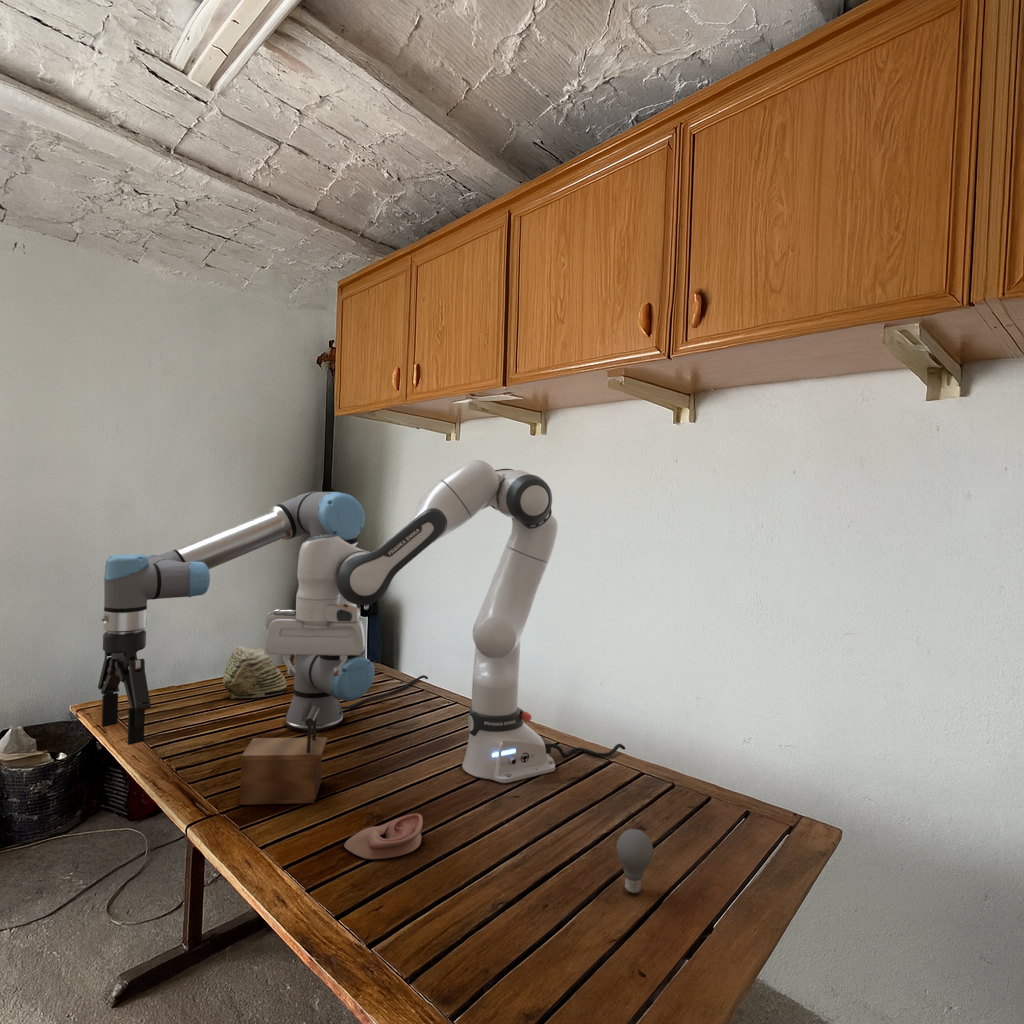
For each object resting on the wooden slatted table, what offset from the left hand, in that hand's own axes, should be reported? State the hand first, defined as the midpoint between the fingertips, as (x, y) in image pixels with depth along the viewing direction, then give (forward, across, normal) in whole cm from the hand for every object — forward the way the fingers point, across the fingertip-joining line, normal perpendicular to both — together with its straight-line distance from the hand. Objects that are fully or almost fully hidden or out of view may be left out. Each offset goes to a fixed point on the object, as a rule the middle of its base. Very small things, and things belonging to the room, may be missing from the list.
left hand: (122, 733), depth 130 cm
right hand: (-12, +26, +28) cm, 40 cm away
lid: (+4, +22, +24) cm, 33 cm away
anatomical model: (+13, +53, +25) cm, 60 cm away
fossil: (+13, -43, +53) cm, 69 cm away
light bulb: (+14, +94, +44) cm, 104 cm away
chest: (+13, +22, +23) cm, 35 cm away
